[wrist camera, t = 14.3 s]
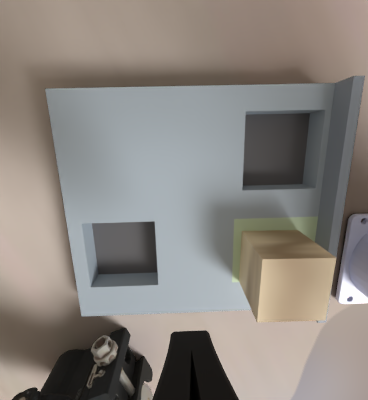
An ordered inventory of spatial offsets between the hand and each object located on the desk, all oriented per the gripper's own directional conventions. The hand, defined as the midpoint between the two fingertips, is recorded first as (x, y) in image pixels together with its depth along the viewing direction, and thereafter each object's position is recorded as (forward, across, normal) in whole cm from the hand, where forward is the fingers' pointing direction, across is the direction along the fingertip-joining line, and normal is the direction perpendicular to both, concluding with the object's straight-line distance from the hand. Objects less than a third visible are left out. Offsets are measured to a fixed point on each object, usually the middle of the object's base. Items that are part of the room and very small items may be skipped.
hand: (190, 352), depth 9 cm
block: (+8, -6, 0) cm, 10 cm away
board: (+10, -1, -3) cm, 10 cm away
